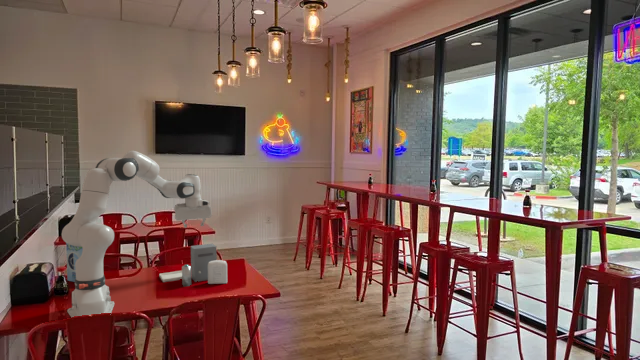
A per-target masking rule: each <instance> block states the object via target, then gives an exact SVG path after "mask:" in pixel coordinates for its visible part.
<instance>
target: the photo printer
mask: <svg viewBox="0 0 640 360" xmlns="http://www.w3.org/2000/svg"><path fill="white" fill-rule="evenodd" d="M207 284H208V285H214V284H217V285H218V284H228V263H227V260H222V259H217V260H214V261H210V262H209V263H208V280H207Z"/></svg>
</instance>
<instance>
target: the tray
mask: <svg viewBox="0 0 640 360" xmlns="http://www.w3.org/2000/svg"><path fill="white" fill-rule="evenodd" d="M158 276H159V279H160V280H161V281H162V283H167V282H175V281H180V279H182V270H175V271H170V272H163V273H159V275H158Z"/></svg>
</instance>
